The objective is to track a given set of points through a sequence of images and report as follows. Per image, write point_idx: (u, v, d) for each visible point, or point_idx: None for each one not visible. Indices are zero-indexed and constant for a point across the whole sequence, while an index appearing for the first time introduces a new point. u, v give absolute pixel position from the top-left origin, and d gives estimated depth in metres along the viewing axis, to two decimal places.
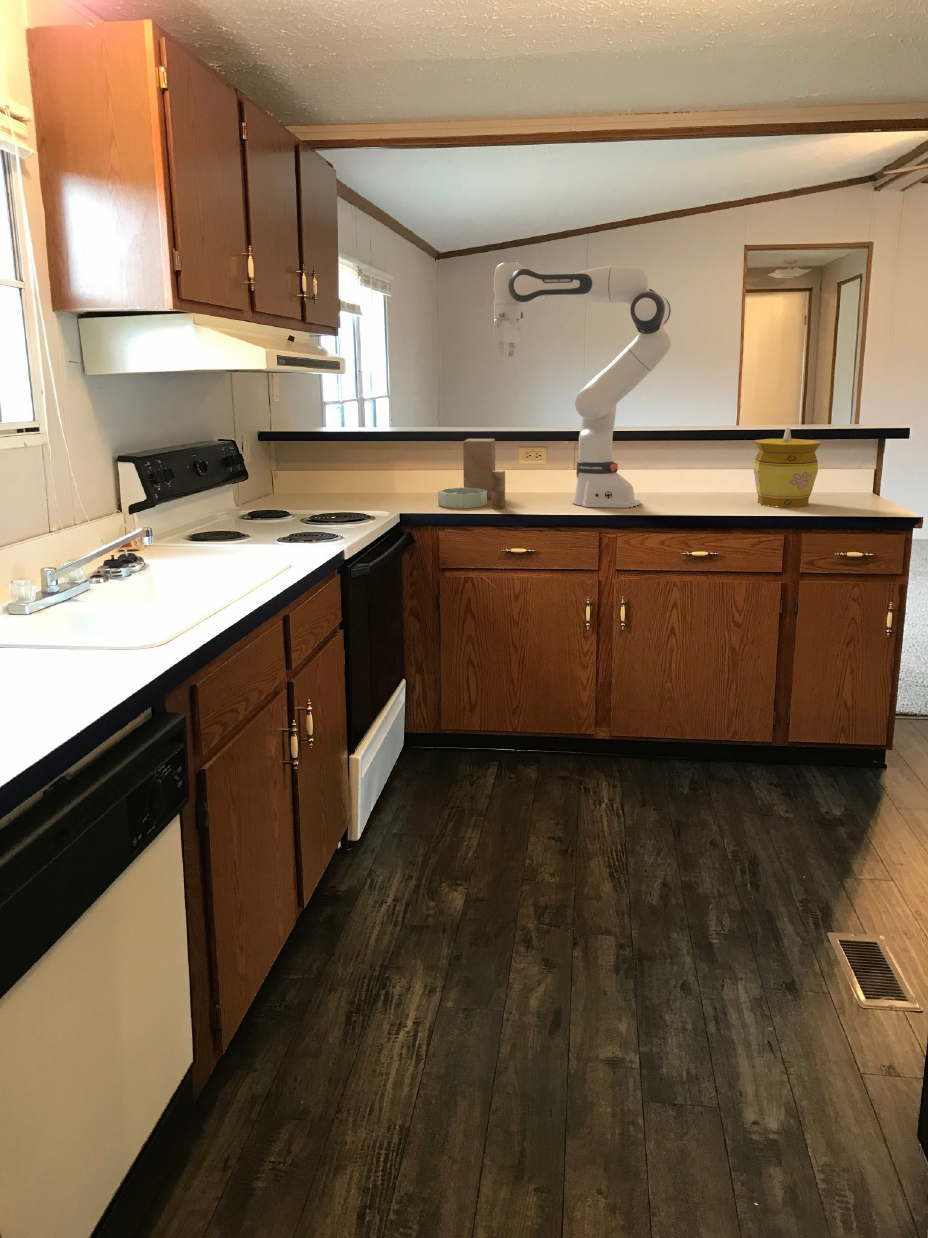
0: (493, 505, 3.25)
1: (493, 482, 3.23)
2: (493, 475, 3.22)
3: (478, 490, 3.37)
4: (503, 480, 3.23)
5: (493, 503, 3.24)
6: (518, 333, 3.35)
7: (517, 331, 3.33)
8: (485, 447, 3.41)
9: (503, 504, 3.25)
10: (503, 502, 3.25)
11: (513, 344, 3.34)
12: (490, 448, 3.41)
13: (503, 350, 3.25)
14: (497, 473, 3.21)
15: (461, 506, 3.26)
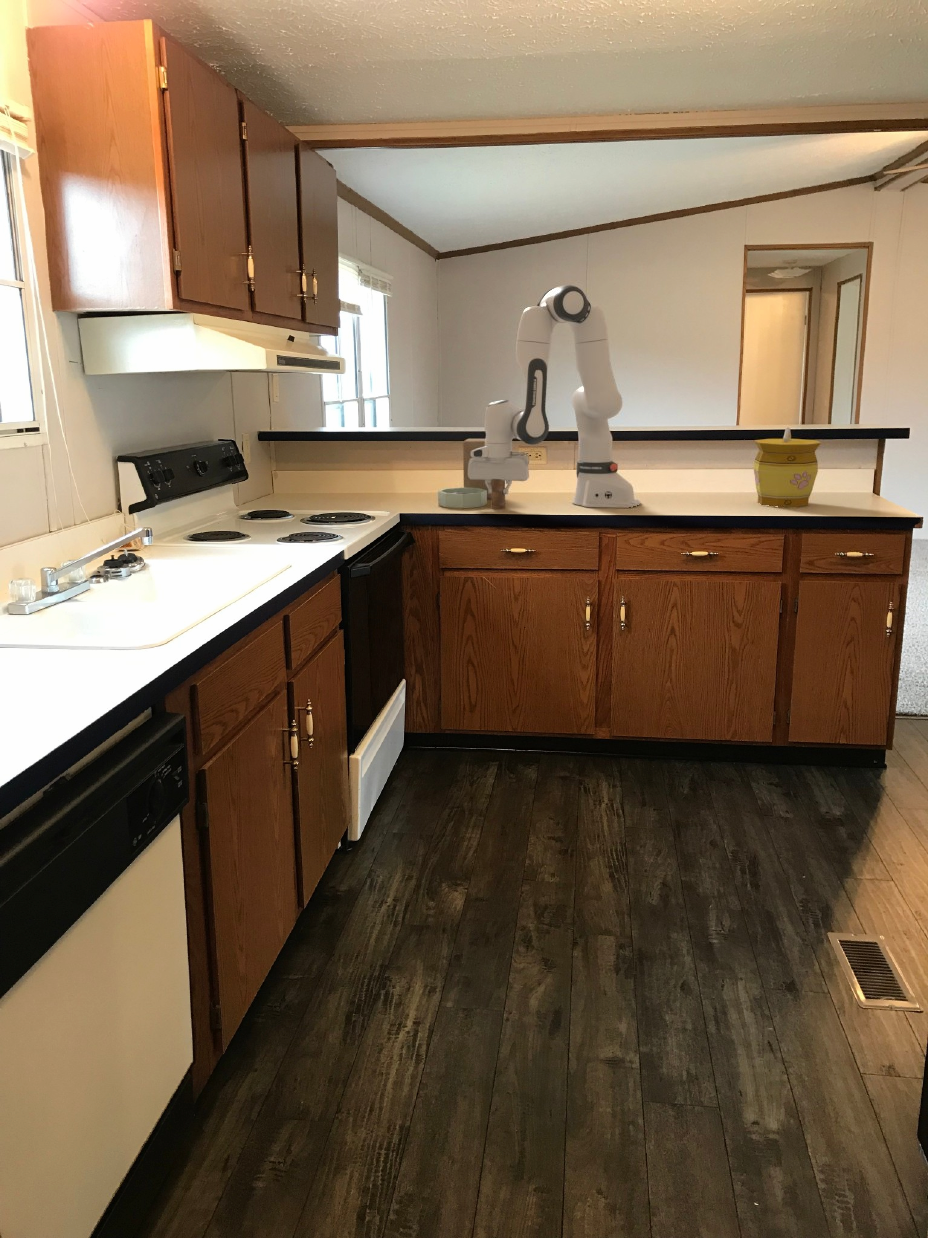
0: (493, 505, 3.25)
1: (493, 482, 3.23)
2: None
3: (478, 490, 3.37)
4: (503, 480, 3.23)
5: (493, 503, 3.24)
6: None
7: None
8: None
9: (503, 504, 3.25)
10: (503, 502, 3.25)
11: (490, 481, 3.25)
12: None
13: None
14: None
15: (461, 506, 3.26)
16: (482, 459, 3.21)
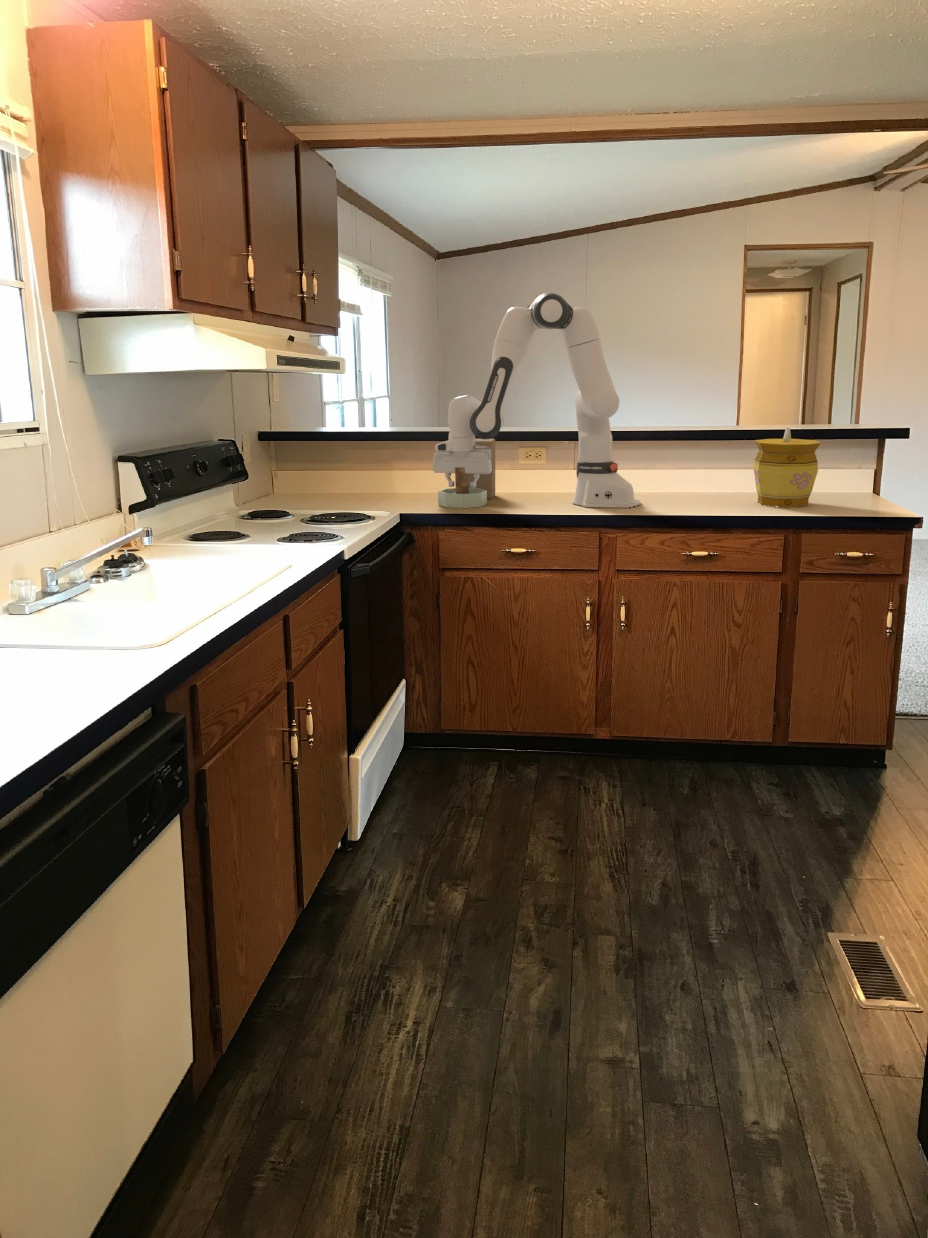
0: None
1: (457, 477, 3.31)
2: (456, 470, 3.30)
3: (478, 490, 3.37)
4: (466, 475, 3.31)
5: None
6: None
7: None
8: None
9: None
10: None
11: (450, 474, 3.34)
12: (490, 448, 3.41)
13: (476, 480, 3.31)
14: (460, 468, 3.29)
15: (461, 506, 3.26)
16: (446, 453, 3.29)
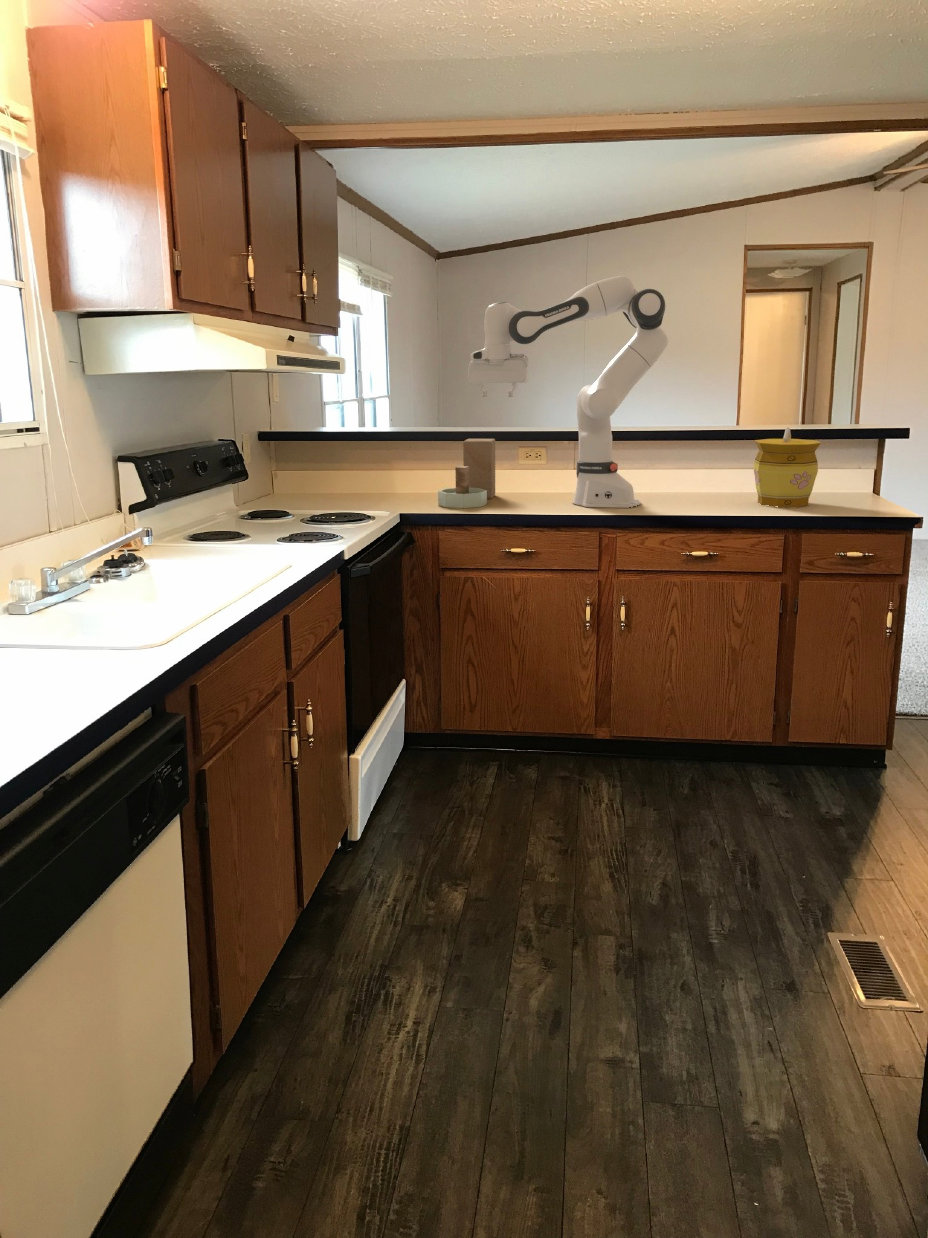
0: None
1: (457, 477, 3.31)
2: (457, 470, 3.30)
3: (478, 490, 3.37)
4: (467, 475, 3.31)
5: None
6: None
7: None
8: (485, 447, 3.41)
9: None
10: None
11: (483, 384, 3.30)
12: (490, 448, 3.41)
13: (514, 390, 3.27)
14: (461, 468, 3.29)
15: (461, 506, 3.26)
16: (482, 361, 3.25)
